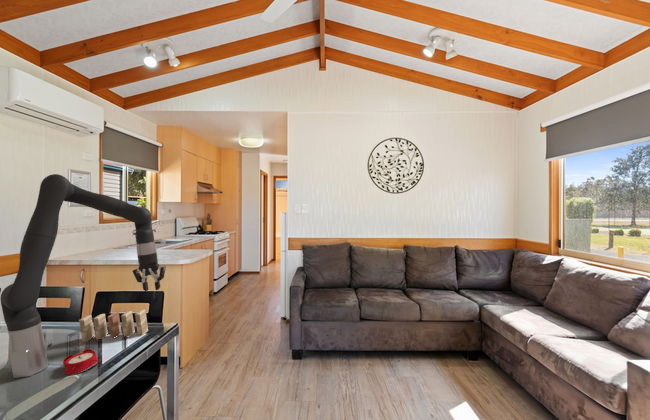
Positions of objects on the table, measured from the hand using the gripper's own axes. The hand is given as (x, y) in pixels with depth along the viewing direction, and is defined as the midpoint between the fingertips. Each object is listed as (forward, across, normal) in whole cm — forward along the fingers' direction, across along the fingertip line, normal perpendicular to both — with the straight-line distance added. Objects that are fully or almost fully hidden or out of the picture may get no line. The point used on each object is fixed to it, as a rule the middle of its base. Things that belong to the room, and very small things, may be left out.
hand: (152, 290), depth 147 cm
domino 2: (+19, -24, 0) cm, 31 cm away
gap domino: (+19, -18, 0) cm, 27 cm away
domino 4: (+19, -6, 0) cm, 20 cm away
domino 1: (+19, -30, 0) cm, 36 cm away
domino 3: (+19, -12, 0) cm, 23 cm away
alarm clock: (+20, -17, -24) cm, 36 cm away
